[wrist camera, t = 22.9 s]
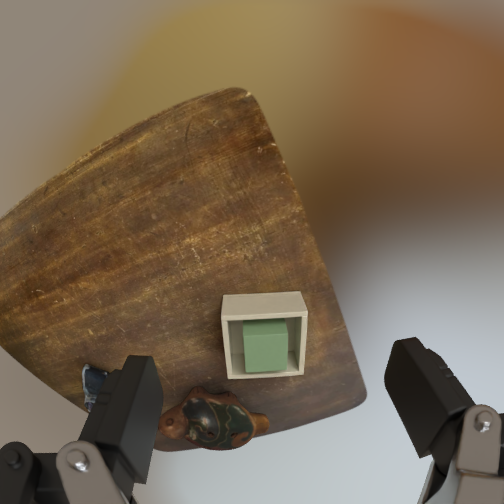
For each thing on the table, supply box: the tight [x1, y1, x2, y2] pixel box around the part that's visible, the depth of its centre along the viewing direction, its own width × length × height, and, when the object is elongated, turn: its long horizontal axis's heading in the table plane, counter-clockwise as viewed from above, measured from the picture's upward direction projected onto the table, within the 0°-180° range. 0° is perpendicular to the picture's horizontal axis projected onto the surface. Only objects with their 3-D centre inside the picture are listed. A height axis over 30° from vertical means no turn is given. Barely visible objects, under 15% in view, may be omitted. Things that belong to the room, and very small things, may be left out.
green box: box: [243, 318, 288, 372], centre depth 33 cm, size 5×4×5 cm
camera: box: [82, 364, 111, 412], centre depth 37 cm, size 5×10×4 cm, turn 163°
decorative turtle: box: [158, 386, 269, 450], centre depth 36 cm, size 10×15×8 cm, turn 81°
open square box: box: [221, 291, 308, 379], centre depth 33 cm, size 9×9×5 cm
